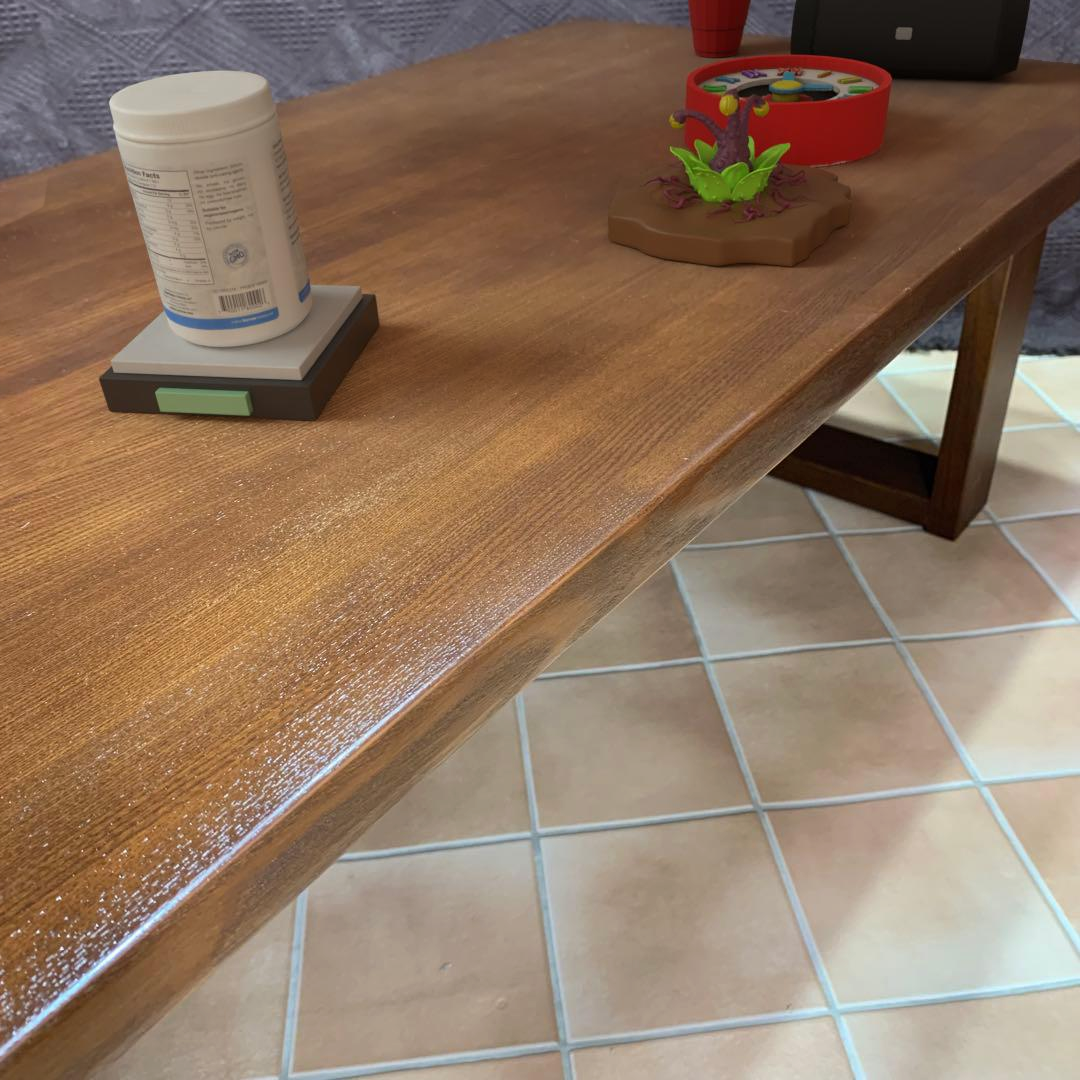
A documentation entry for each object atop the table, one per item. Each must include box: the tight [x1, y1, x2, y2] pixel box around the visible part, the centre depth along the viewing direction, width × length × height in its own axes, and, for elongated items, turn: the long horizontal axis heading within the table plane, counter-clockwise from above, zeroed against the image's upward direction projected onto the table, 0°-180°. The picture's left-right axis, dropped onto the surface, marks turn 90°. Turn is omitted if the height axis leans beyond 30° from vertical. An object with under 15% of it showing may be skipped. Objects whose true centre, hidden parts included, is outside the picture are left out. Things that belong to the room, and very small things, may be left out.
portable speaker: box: [789, 0, 1031, 81], centre depth 126 cm, size 26×10×10 cm, turn 71°
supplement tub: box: [108, 70, 312, 347], centre depth 67 cm, size 10×10×15 cm
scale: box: [98, 284, 381, 421], centre depth 72 cm, size 14×15×3 cm
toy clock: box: [684, 54, 893, 168], centre depth 109 cm, size 20×6×20 cm
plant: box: [607, 88, 852, 268], centre depth 88 cm, size 20×20×11 cm
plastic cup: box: [687, 0, 752, 58], centre depth 139 cm, size 11×11×12 cm
